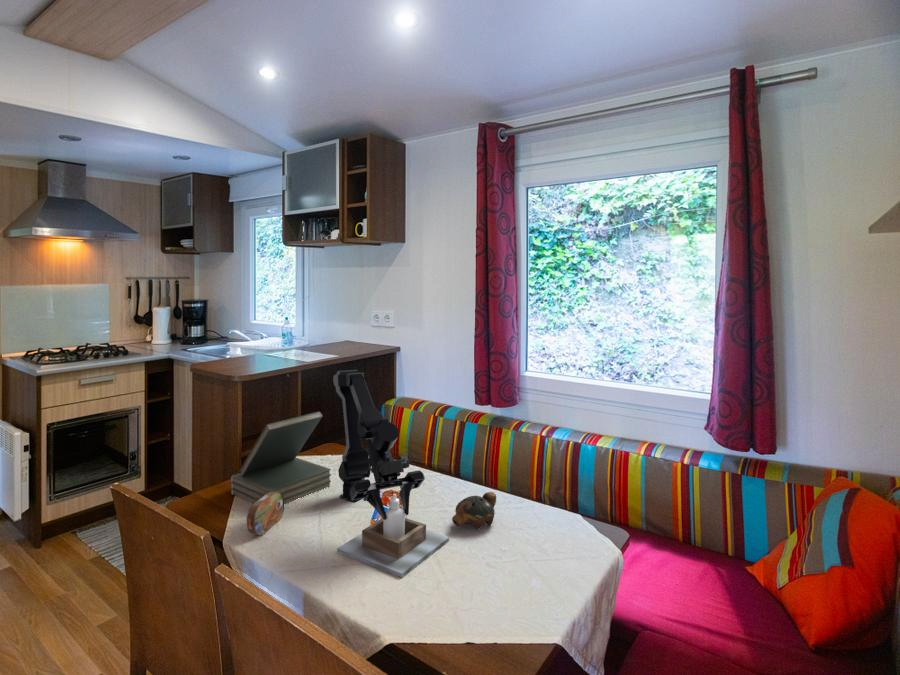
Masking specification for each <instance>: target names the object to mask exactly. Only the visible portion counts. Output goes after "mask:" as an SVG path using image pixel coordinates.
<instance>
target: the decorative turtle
mask: <svg viewBox="0 0 900 675" xmlns="http://www.w3.org/2000/svg"><path fill="white" fill-rule="evenodd" d="M496 503H497V495H496V493H495V492H493V491H487V492H485V493H483V495H482V496H480V495H471V496H467V497H464V498H463V499H462V500H461V501H459V502H458V503H457V504H456V507H455V511H454V512H455V514H454V515H453V516H452V518H451V520H452V523H453V524H454V525H455V526H456V527H461V526H464V525H465V524H468V523H471V524H472V526H473V527H474V528H475V529H476V530H480V529H481V528H482V527H483V526H484V525H485V524H486V525H487V526H491V525H492V524H493V523H494V518H495V514H496V512H495V506H496Z"/></svg>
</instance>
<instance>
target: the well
mask: <svg viewBox="0 0 900 675" xmlns="http://www.w3.org/2000/svg"><path fill="white" fill-rule="evenodd" d="M383 522H384V519H383V518H382V517H381V519H378V520H377V521H375V522H374V523H371V525H369V526H367V527H365V528H364V529H362V530H361V533H360V534H358V535H357V536H355V537H353V538H351V539H350V540H348V541H347V542H345V543H343V544H341V545H340V546H339V547H337V548H336V552H337V553H338V552H339V553H338V554H341V553H342V554H341V555H343V554H344V556H347V557H349V558H352V559H353V560H356V561H359V562H361V563H364V564H366V565H369V566H372V567H374V568H377V569H378V570H381V571H384V572H387V573H389V574H392V575H394V576H397V577H399V578H404V577H405V576H406V575H408V574H409V573H410V572H411V571H413V570H414V569H416V568H417V567H418V566H419V565H420V564H422V563H423V562H424V561H426V560H427V559H428V558H430V557H431V556H432V555H433V554H434V553H436V552H437V551H438V550H439V549H441V548H442V547H443V546H444V545H446V544H447V543H448V542H449V541H450V537H449V536H446V535H443V534H440V533H437V532H434V531H430V530H428V529H427V524H425V523H423V522H419V521H417V520H413V519H409V518H406V517H405V535H404V536H403V537H401V538H400V539H398V540H397V539H394V538H391V537H388V536H385V535H383Z"/></svg>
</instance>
